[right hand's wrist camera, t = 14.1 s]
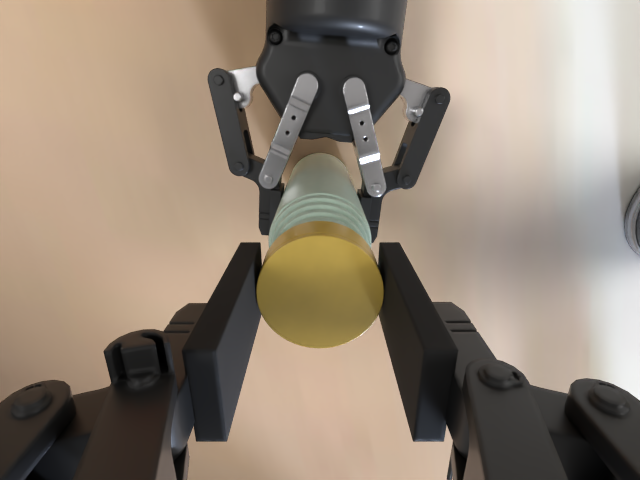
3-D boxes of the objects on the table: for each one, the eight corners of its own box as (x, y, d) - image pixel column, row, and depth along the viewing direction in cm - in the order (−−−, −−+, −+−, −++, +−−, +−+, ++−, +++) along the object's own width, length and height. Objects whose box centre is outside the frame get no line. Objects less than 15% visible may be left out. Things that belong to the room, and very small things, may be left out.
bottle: (289, 211, 31) (252, 344, 14) (290, 151, 29) (250, 221, 13) (347, 214, 31) (380, 349, 14) (352, 154, 29) (396, 228, 13)
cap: (263, 321, 15) (256, 346, 14) (262, 217, 14) (255, 232, 12) (371, 325, 15) (377, 351, 14) (383, 223, 14) (391, 238, 12)
